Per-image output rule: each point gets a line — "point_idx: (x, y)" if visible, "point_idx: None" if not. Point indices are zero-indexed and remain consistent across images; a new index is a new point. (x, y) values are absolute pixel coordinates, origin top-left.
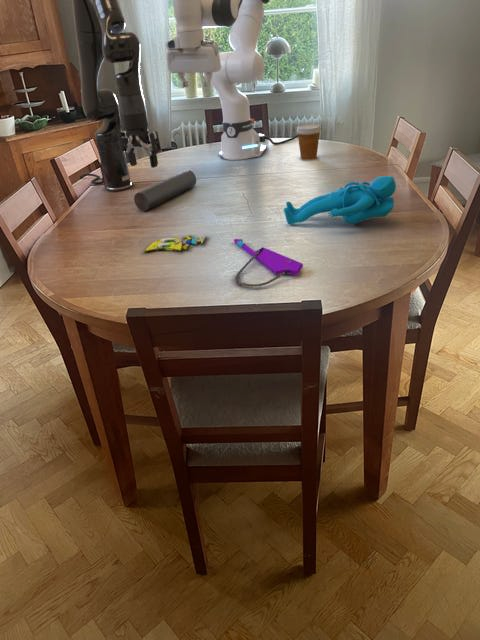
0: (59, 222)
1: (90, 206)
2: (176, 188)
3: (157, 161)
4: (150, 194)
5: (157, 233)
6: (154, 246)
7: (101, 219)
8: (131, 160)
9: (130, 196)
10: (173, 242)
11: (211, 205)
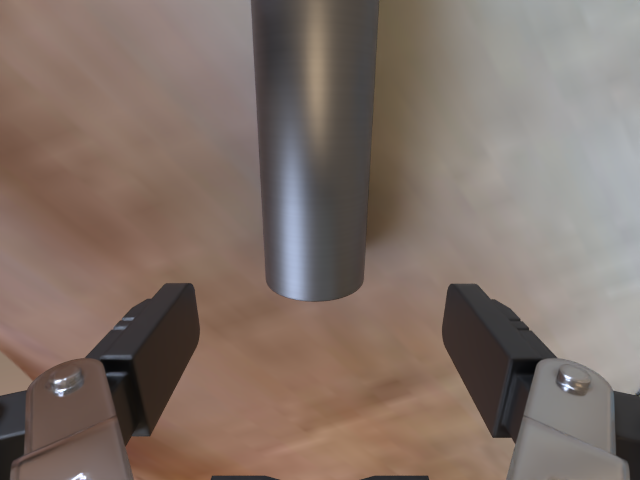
0: None
1: (24, 292)
2: (378, 8)
3: (518, 318)
4: (357, 255)
5: None
6: None
7: (214, 376)
8: (179, 374)
9: (72, 104)
10: None
11: (626, 71)
